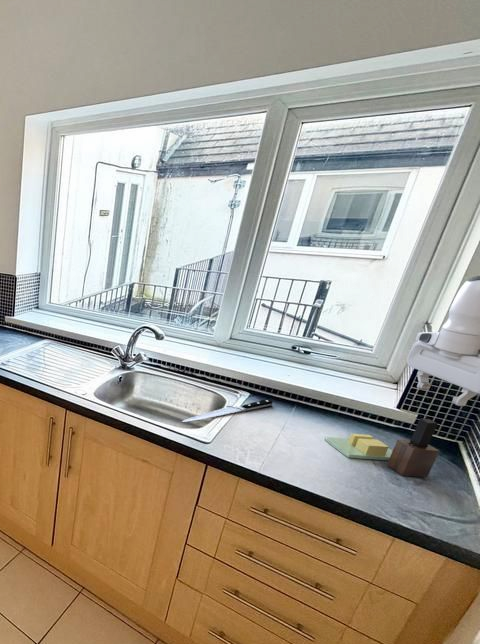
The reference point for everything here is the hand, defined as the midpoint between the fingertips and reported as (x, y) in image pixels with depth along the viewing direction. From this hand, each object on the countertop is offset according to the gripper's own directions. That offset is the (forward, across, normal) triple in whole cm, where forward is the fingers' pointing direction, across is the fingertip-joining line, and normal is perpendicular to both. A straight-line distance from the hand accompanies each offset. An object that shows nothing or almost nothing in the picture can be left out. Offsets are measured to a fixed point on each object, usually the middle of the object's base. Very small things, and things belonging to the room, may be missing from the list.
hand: (439, 396), depth 104 cm
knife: (+22, 0, 0) cm, 22 cm away
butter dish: (+22, +10, +4) cm, 24 cm away
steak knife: (+22, +29, +33) cm, 49 cm away
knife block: (+22, 0, 0) cm, 22 cm away
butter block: (+21, +7, +4) cm, 22 cm away
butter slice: (+21, +11, +4) cm, 24 cm away
